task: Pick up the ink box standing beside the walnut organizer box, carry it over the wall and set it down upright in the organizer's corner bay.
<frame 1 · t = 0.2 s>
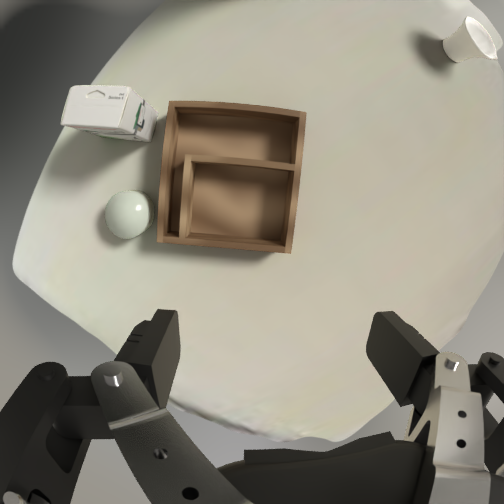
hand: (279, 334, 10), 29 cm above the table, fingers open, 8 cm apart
cup: (452, 51, 31), on the table
organizer: (230, 175, 36), on the table
ink box: (129, 123, 34), on the table
white domed round part: (134, 212, 37), on the table
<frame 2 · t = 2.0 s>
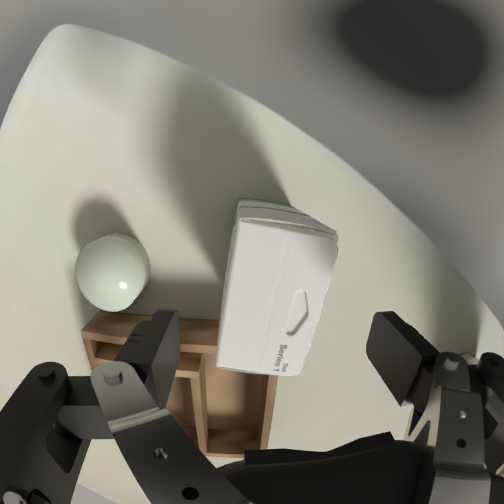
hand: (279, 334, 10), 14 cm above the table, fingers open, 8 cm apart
organizer: (187, 383, 28), on the table
ink box: (258, 249, 25), on the table
white domed round part: (120, 265, 24), on the table
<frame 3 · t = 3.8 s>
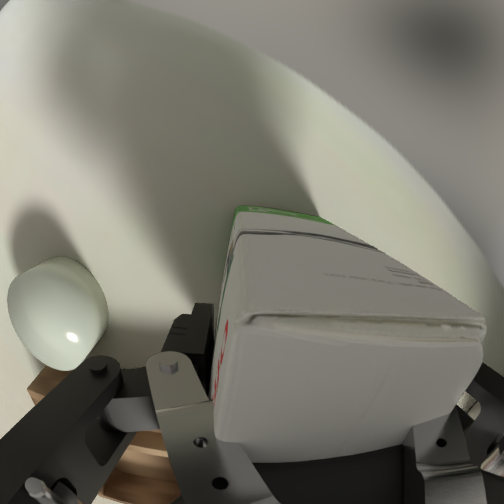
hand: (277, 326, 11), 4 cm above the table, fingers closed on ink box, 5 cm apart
organizer: (172, 444, 19), on the table
ink box: (267, 285, 16), on the table, touching gripper
white domed round part: (69, 302, 15), on the table
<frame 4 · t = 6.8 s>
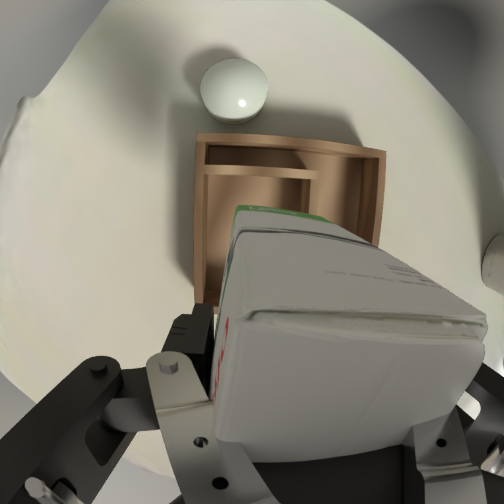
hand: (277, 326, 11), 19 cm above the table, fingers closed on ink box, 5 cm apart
organizer: (285, 223, 29), on the table
ink box: (267, 284, 16), point 14 cm above the table, touching gripper
white domed round part: (234, 96, 26), on the table
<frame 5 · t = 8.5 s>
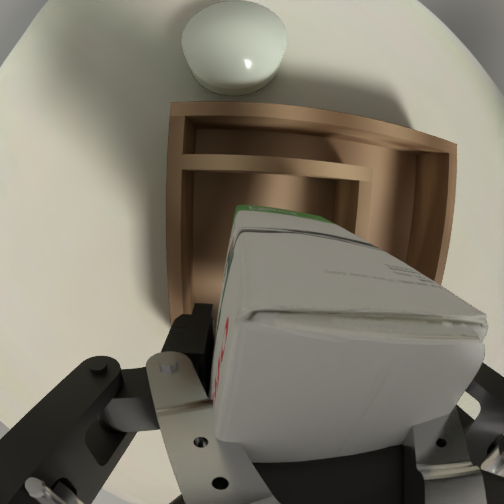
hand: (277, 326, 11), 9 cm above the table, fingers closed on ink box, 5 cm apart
organizer: (310, 245, 19), on the table
ink box: (267, 284, 16), point 4 cm above the table, touching gripper
white domed round part: (234, 57, 16), on the table
when the fingers open (6 cm above the table, at t = 9.9 s): ink box drops 1 cm, resting on organizer.
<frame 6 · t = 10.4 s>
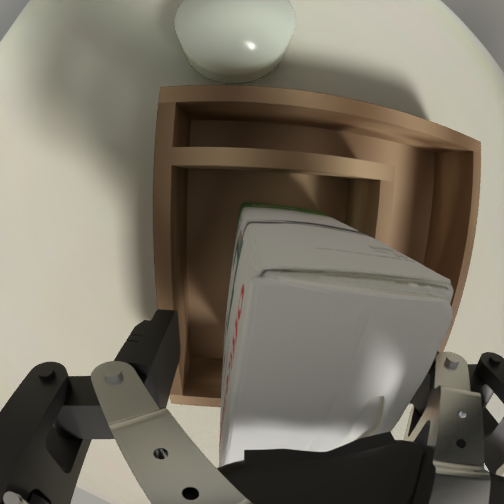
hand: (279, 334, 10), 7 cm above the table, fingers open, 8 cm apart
organizer: (320, 253, 17), on the table
ink box: (271, 274, 17), resting on organizer
white domed round part: (235, 42, 14), on the table
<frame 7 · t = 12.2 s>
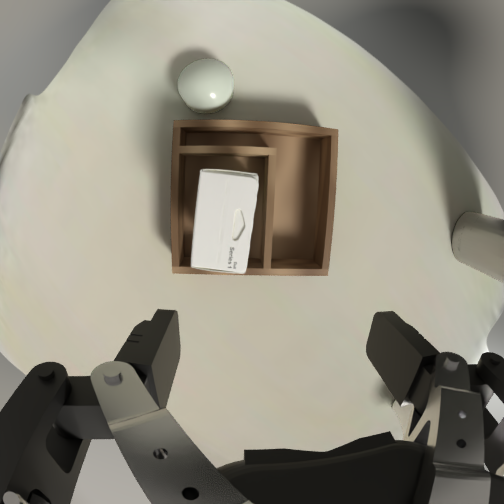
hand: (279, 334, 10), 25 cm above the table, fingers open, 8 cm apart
cup: (402, 401, 46), on the table
organizer: (251, 196, 34), on the table
ink box: (226, 207, 33), resting on organizer
white domed round part: (207, 90, 30), on the table
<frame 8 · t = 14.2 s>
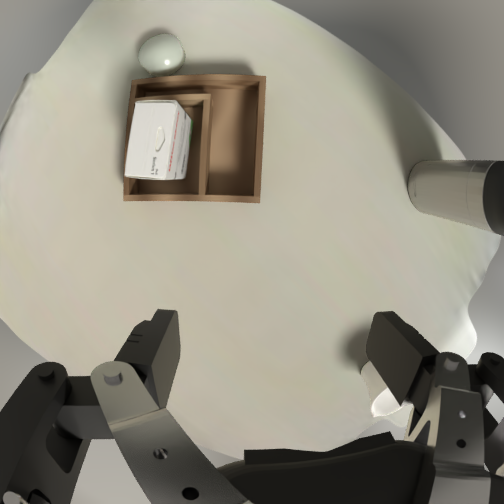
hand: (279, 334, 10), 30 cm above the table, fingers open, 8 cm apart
cup: (372, 369, 48), on the table
organizer: (196, 139, 36), on the table
ink box: (174, 149, 36), resting on organizer
white domed round part: (165, 59, 33), on the table
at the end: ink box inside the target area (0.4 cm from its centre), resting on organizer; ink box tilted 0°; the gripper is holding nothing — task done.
